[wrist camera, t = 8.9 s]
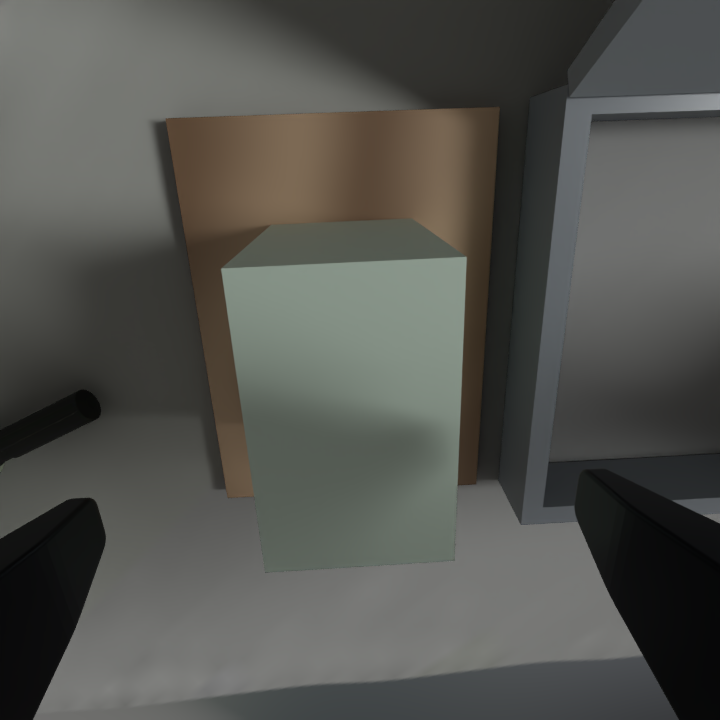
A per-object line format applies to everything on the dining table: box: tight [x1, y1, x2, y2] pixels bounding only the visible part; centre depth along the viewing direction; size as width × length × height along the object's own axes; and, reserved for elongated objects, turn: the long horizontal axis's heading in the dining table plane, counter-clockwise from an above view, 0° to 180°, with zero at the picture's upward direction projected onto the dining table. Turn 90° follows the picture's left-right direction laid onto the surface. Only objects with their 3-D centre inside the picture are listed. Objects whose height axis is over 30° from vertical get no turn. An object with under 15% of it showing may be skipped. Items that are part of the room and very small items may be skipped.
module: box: [221, 218, 467, 573], centre depth 15 cm, size 5×8×8 cm, turn 2°
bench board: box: [166, 107, 500, 498], centre depth 19 cm, size 11×15×1 cm
